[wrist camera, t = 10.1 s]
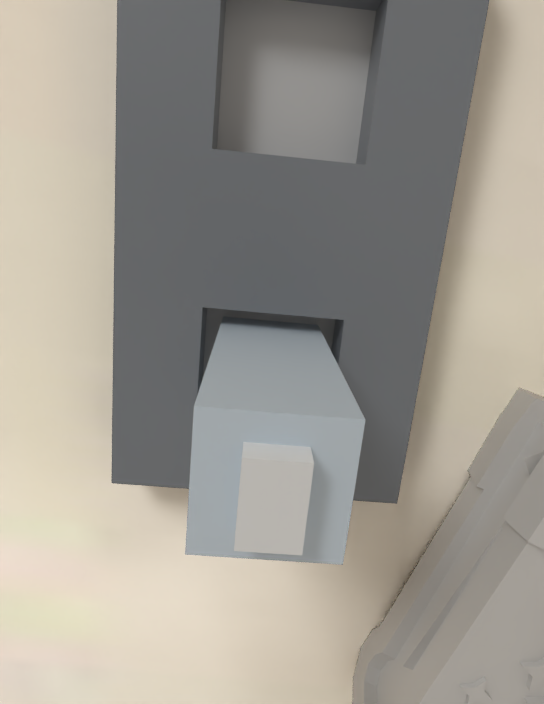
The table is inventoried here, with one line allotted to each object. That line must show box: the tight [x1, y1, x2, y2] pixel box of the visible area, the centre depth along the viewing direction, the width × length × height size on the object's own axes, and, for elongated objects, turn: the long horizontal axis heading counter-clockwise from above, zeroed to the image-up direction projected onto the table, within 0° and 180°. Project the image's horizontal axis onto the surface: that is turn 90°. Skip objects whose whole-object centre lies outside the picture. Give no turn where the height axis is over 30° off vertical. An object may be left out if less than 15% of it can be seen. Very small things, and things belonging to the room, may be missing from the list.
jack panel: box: [112, 0, 489, 503], centre depth 20 cm, size 21×12×2 cm, turn 175°
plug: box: [185, 317, 365, 565], centre depth 17 cm, size 4×4×11 cm
